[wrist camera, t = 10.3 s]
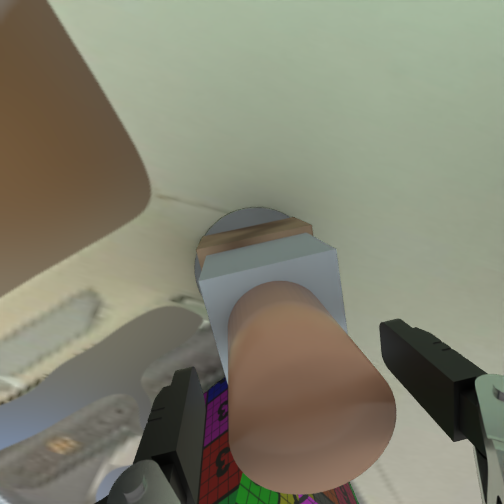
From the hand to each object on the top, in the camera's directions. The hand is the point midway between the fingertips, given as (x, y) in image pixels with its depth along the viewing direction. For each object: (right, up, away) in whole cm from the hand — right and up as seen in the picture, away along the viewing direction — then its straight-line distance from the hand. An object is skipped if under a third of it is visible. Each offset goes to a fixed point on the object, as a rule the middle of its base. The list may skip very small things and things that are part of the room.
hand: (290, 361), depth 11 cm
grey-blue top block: (-1, +2, +8) cm, 8 cm away
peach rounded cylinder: (0, +1, +3) cm, 3 cm away
